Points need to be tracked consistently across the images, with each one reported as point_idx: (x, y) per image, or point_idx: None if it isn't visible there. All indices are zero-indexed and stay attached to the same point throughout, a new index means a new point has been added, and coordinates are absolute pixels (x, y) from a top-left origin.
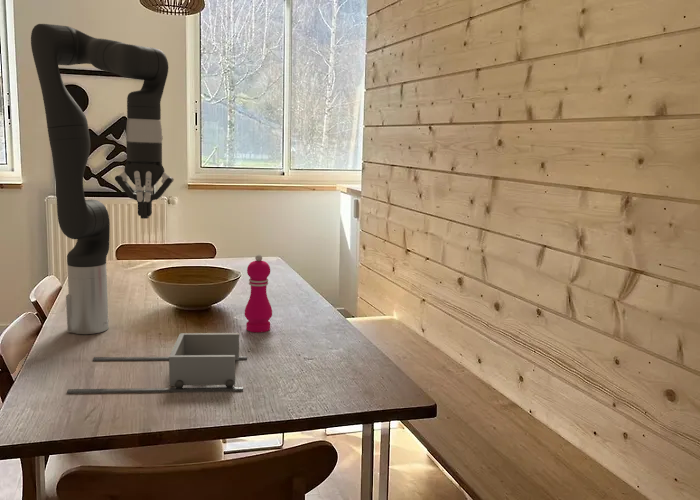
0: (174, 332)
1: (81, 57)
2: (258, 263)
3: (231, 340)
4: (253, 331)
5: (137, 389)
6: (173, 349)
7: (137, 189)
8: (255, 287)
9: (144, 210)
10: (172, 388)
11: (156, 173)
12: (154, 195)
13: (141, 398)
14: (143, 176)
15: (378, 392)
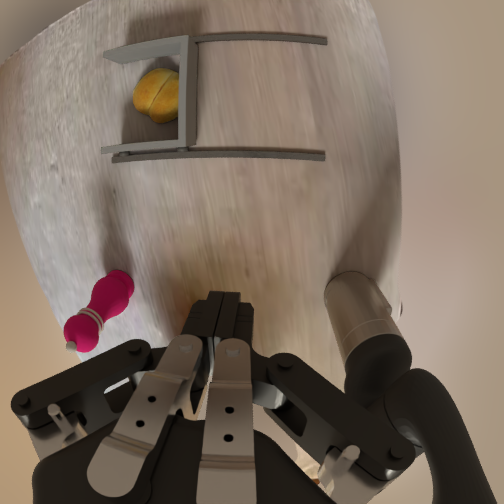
0: (227, 277)
1: None
2: (71, 333)
3: (114, 145)
4: (122, 271)
5: (238, 35)
6: (185, 65)
7: (238, 389)
8: (93, 309)
9: (216, 309)
10: (193, 40)
11: (71, 470)
12: (138, 355)
13: (229, 20)
14: (179, 479)
15: (14, 83)
